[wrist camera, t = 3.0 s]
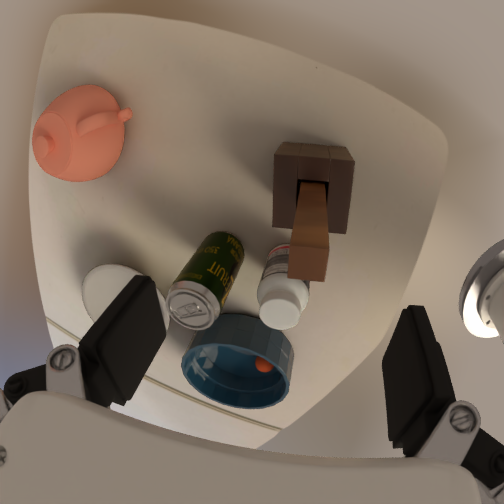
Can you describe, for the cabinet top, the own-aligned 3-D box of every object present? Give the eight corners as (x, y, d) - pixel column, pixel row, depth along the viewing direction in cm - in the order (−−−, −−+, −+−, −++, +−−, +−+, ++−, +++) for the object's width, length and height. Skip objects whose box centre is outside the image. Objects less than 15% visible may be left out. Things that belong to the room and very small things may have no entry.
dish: (134, 225, 38) (114, 243, 34) (203, 301, 42) (191, 324, 38) (85, 279, 46) (68, 296, 42) (140, 336, 50) (128, 355, 46)
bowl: (299, 318, 40) (294, 353, 35) (289, 384, 48) (284, 415, 43) (189, 303, 43) (172, 333, 38) (201, 370, 51) (190, 398, 46)
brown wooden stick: (323, 166, 30) (329, 249, 14) (321, 184, 31) (324, 282, 15) (304, 164, 30) (289, 245, 15) (303, 182, 31) (287, 278, 16)
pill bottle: (303, 285, 37) (297, 340, 29) (263, 273, 38) (246, 327, 29) (316, 249, 35) (314, 301, 26) (272, 237, 35) (257, 286, 27)
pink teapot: (59, 104, 31) (3, 117, 22) (134, 63, 27) (75, 62, 19) (79, 181, 37) (29, 209, 28) (157, 158, 33) (105, 184, 24)
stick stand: (346, 147, 28) (354, 161, 22) (340, 206, 31) (345, 234, 25) (282, 142, 29) (273, 154, 23) (281, 201, 33) (272, 227, 27)
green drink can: (219, 272, 39) (185, 336, 29) (196, 239, 37) (152, 296, 27) (254, 258, 37) (228, 324, 27) (231, 221, 35) (194, 279, 25)
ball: (276, 350, 43) (273, 365, 41) (275, 362, 45) (272, 377, 42) (257, 347, 44) (253, 362, 41) (256, 360, 45) (253, 374, 43)
